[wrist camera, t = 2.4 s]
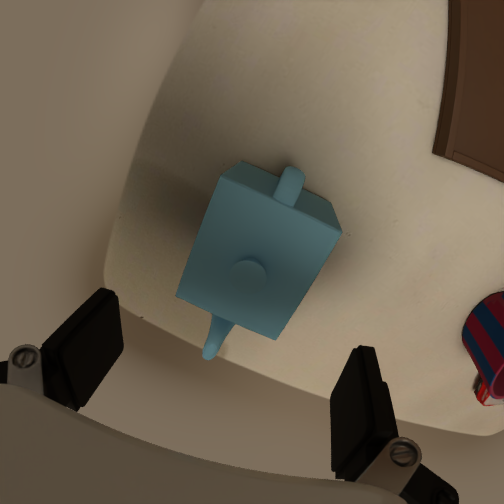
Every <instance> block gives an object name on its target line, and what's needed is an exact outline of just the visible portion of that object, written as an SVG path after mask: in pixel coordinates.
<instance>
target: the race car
mask: <svg viewBox="0 0 504 504" xmlns="http://www.w3.org/2000/svg"><path fill="white" fill-rule="evenodd" d="M474 393H475V395H476V398H477V400H478V401H479V402H480V403H481V404H482V405H483V406H492V405H501V404H504V399H493V398H492V397H491V396H490V394H489V392H488V390H487V388H486V386H485V384H484V382H483V380H482V378H481V379H480V381H479V383H478V385H477V387H476V390H475V391H474Z"/></svg>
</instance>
